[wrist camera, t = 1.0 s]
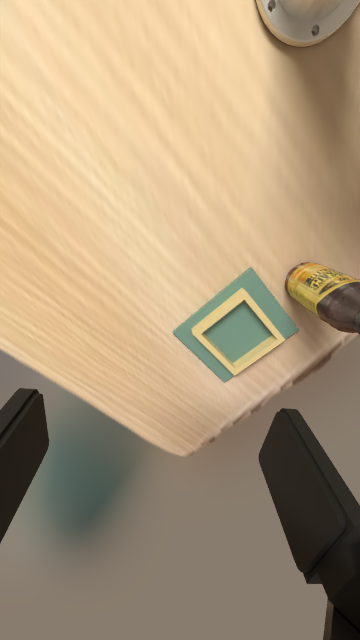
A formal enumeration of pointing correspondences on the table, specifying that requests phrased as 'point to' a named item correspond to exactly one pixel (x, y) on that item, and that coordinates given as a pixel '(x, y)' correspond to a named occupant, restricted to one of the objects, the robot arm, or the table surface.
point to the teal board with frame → (236, 326)
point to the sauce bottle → (327, 295)
